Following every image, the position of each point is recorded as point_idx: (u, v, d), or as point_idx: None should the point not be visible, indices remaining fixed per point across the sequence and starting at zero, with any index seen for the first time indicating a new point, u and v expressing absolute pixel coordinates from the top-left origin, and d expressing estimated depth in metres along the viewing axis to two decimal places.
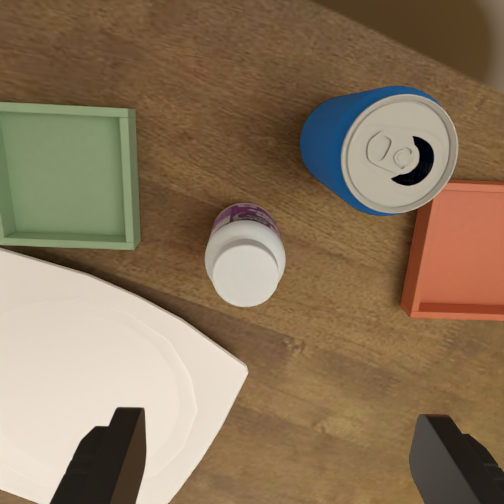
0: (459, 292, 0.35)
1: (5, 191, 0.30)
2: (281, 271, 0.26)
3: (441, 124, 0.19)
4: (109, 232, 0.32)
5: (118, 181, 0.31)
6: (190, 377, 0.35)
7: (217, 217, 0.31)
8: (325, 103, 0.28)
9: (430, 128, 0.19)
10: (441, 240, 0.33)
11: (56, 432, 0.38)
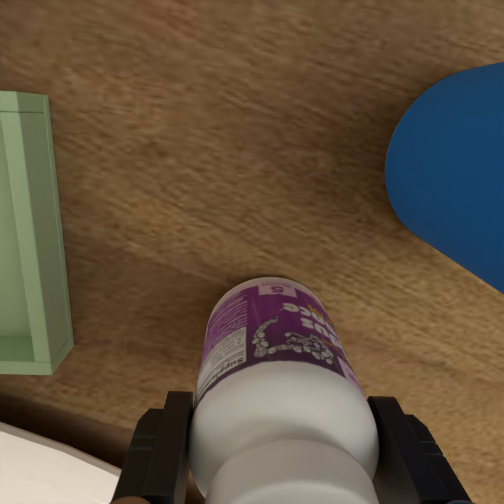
0: None
1: None
2: (371, 480, 0.11)
3: None
4: (12, 331, 0.17)
5: None
6: None
7: (217, 308, 0.16)
8: (458, 80, 0.12)
9: None
10: None
11: None
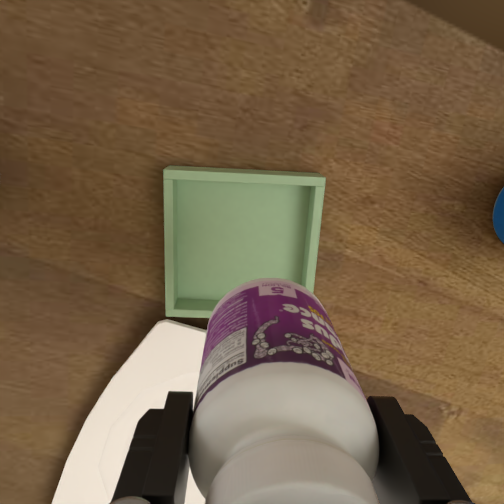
0: None
1: (176, 259, 0.28)
2: (371, 481, 0.11)
3: None
4: None
5: (292, 247, 0.29)
6: None
7: (217, 309, 0.16)
8: None
9: None
10: None
11: (192, 500, 0.36)
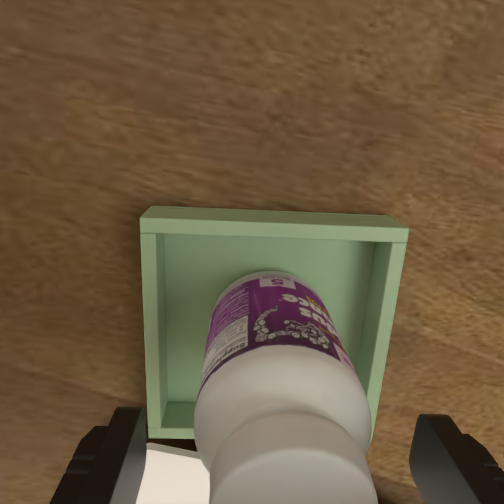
0: None
1: (164, 350, 0.18)
2: (364, 456, 0.12)
3: None
4: None
5: (344, 327, 0.19)
6: None
7: (220, 300, 0.17)
8: None
9: None
10: None
11: None
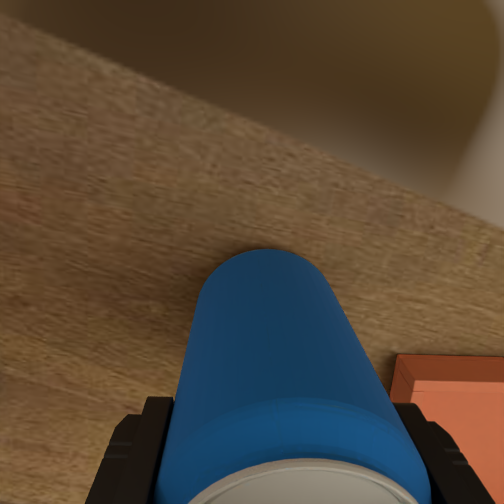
0: None
1: None
2: None
3: None
4: None
5: None
6: None
7: None
8: (224, 274, 0.16)
9: None
10: None
11: None
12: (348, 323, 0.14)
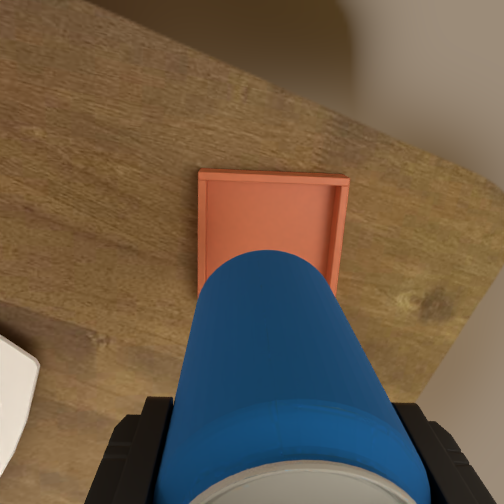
0: None
1: None
2: None
3: None
4: None
5: None
6: None
7: None
8: (224, 275, 0.16)
9: None
10: (228, 232, 0.33)
11: None
12: (348, 324, 0.14)
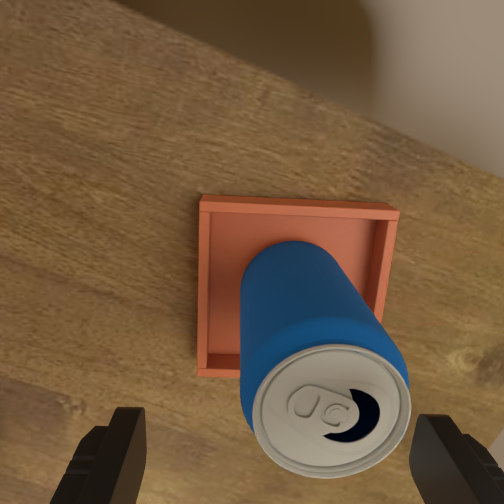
0: None
1: None
2: None
3: (387, 376, 0.14)
4: None
5: None
6: None
7: None
8: (265, 258, 0.22)
9: (373, 380, 0.14)
10: (237, 275, 0.25)
11: None
12: None
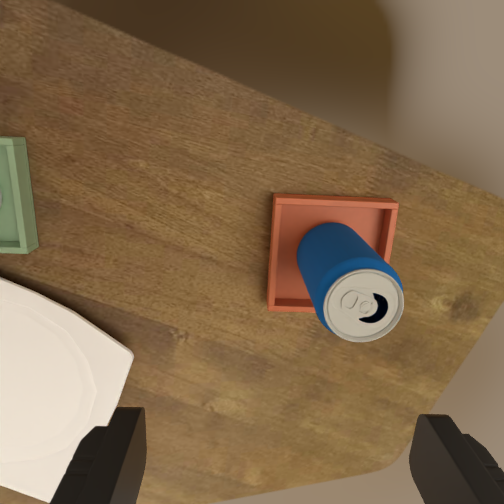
0: None
1: None
2: None
3: (392, 286, 0.28)
4: (11, 239, 0.38)
5: None
6: (87, 362, 0.41)
7: None
8: (315, 232, 0.36)
9: (384, 288, 0.28)
10: (293, 245, 0.39)
11: None
12: None
